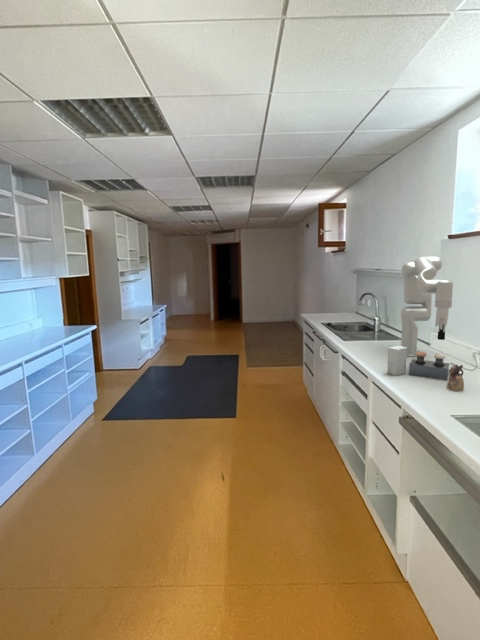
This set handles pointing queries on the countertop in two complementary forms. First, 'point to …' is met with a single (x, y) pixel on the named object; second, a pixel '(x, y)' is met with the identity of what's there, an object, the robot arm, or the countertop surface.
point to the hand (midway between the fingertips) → (441, 339)
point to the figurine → (455, 378)
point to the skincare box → (397, 360)
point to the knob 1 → (420, 357)
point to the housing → (429, 370)
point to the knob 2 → (439, 359)
